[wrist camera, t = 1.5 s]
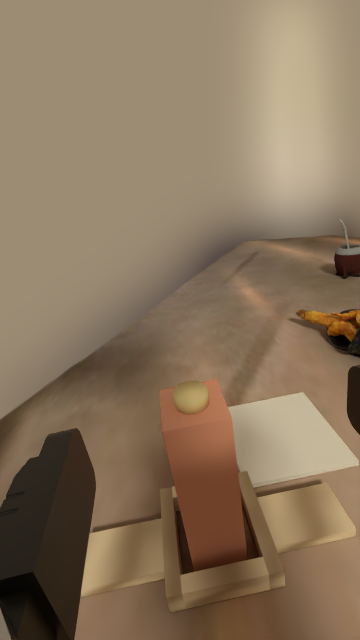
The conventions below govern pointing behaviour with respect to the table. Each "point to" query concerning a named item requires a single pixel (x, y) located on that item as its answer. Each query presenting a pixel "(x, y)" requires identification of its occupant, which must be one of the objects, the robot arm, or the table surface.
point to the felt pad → (286, 440)
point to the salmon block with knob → (204, 472)
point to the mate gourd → (347, 258)
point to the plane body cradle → (224, 581)
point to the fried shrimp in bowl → (338, 327)
